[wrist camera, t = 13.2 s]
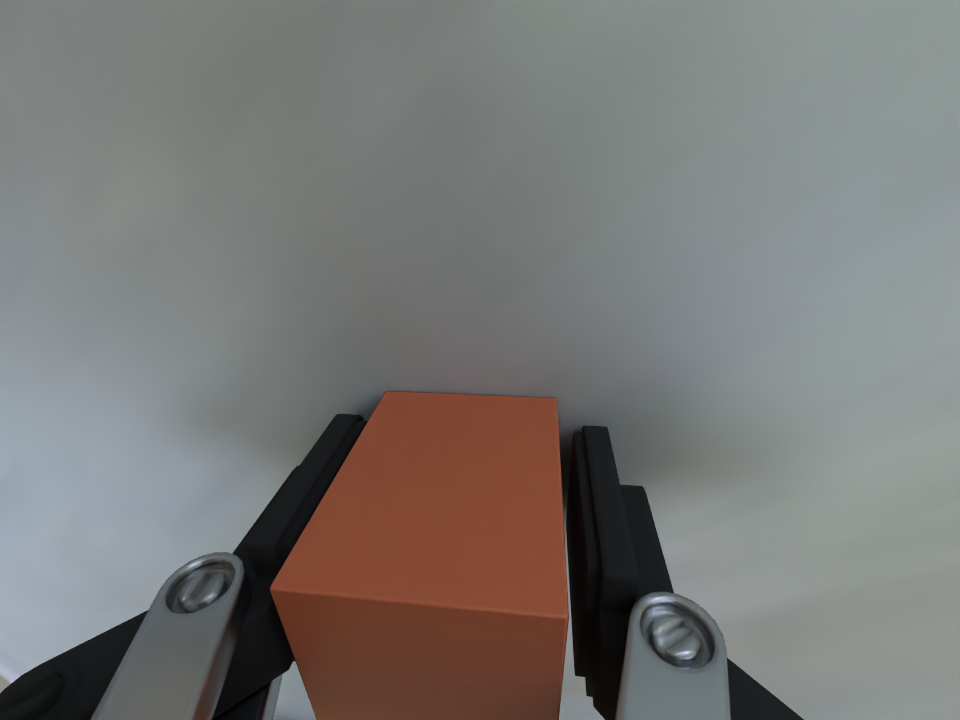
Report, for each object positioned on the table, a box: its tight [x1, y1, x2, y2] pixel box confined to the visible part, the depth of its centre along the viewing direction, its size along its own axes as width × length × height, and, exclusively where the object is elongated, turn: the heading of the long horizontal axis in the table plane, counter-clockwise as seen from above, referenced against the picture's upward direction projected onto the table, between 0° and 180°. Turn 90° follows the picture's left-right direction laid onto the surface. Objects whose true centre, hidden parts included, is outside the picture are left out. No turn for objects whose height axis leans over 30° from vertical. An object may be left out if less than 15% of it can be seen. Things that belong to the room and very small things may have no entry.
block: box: [270, 391, 569, 720], centre depth 9 cm, size 4×4×5 cm
